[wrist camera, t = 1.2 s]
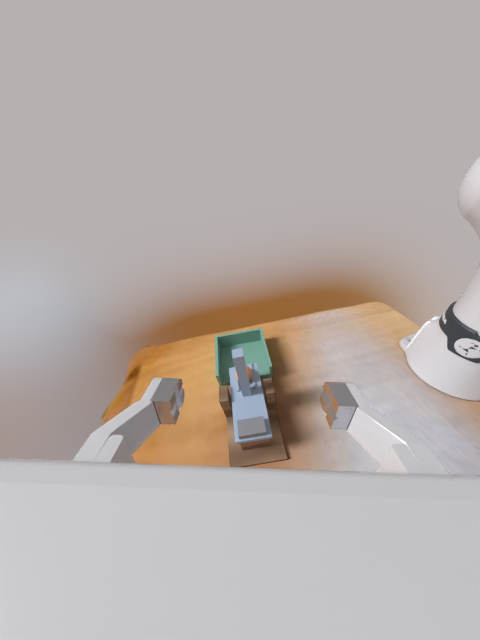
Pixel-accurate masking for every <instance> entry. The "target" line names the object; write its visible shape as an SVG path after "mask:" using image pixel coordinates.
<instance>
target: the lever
mask: <svg viewBox="0 0 480 640" xmlns="http://www.w3.org/2000/svg"><path fill="white" fill-rule="evenodd" d="M232 358H233V362H234V365H235V366H234V367H232V368H229V374H230V386H231V399H232V411H233V424H234V436H235V444H241V443H247V442H253V441H259V440H265V439H271V438H272V432H271V428H270V423H269V418H268V414H267V409H266V404H265V399H264V395H263V393H264V392H263V388H262V385H261V381H260V376H259V371H258V366H257V363H255V364H251V363H249V365H246V364H245V359H244V354H243V350H242V348H238V349H233V350H232ZM246 366H248V367H249V368H250V369H251V371H252V376H251V379H250V380H249V379H248V374H247V369H246ZM236 373H237V376H238V379H237V378H236Z"/></svg>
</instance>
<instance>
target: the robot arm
mask: <svg viewBox="0 0 480 640" xmlns="http://www.w3.org/2000/svg"><path fill="white" fill-rule="evenodd" d="M458 207H459V210H460V212H461V214H462V216H463V217H464V218H465V219H466V220H467V221H468V222H469V223H470V224H471V225H472V226H473V228H474V229H475V230H476V232H477V234H478V236H479V239H480V157H478V159H477V160H476V161H475V162H474V163H473V165H472V166H471V167H470V169H469V170H468V171H467V173H466V175H465V177H464V179H463V181H462V183H461V185H460V189H459V192H458ZM399 344H400V346H401V347H402V349H403V350H404V351H405V353H406V357H407V361H408V363H409V365H410V367H411V368H412V370H413V371H414V372H415V373H416V374H417V375H418V376H419V377H420V378H421V379H422V380H423V381H425V382H426V383H428V384H429V385H431V386H432V387H434V388H436V389H438V390H440V391H442V392H444V393H446V394H449V395H451V396H454V397H458V398H461V399H466V400H474V401H480V265H479V267H478V270H477V272H476V274H475V275H474V277H473V279H472V280H471V282H470V284H469V285H468V287H467V288H466V290H465V291H464V292H463V294H462V295H461V297H460V298H459V299H458V301H456V302H454V303H452V304H451V305H450V306H449V307H448V308H447V309H446V310H445V311H444V313H443V315H442V316H439V315H436V316H435V317H434V318H432V319H431V320H428V321H427V322H426V323H425V324H424V325H423V326H422V328H421V329H420V330H419V331H418V332H416V333H414V334H412V335H410V336H407V337H405V338H403V339H402V340H401V341H400V342H399ZM182 384H183V383H182V379H175V378H154V379H153V380H152V382H151V383H150V385H149V387H148V388H147V390H146V392H145V394H144V395H143V397H142V399H141V400H140V401H137V402H135V403H134V404H133V405H131V406H130V407H128V408H127V409H125V410H124V411H123V412H121V413H120V414H118V415H117V416H116V417H114V418H113V419H111V420H110V421H108V422H107V423H106V424H104V425H103V426H101V427H100V428H98V429H97V430H96V431H94V432H93V433H92V434H91V435H90V436H89V438H88V439H87V441H86V442H85V444H84V445H83V446H82V448H81V449H80V450H79V452H78V453H77V454H76V456H75V457H74V459H73V460H72V461H60V460H32V459H8V458H0V640H480V476H463V475H450V474H449V473H448V471H447V470H446V469H445V468H444V466H443V465H442V464H441V462H440V461H439V460H438V459H437V457H436V456H435V455H434V454H433V452H432V451H431V450H430V448H429V447H428V446H427V445H426V444H425V443H424V442H422V441H421V440H419V439H418V438H416V437H415V436H414V435H412V434H411V433H409V432H408V431H406V430H405V429H403V428H402V427H401V426H399V425H398V424H396V423H395V422H393V421H392V420H391V419H389V418H388V417H386V416H385V415H383V414H382V413H380V412H379V411H378V410H376V409H375V408H371V407H370V406H369V404H368V403H367V401H366V400H365V398H364V397H363V395H362V394H361V392H360V391H359V389H358V388H357V386H356V385H355V384H354V383H353V382H325V383H324V385H323V388H324V391H323V392H322V393H321V397H320V400H321V406H322V409H323V410H324V411H325V412H326V413H327V416H326V419H327V421H328V424H329V426H330V429H337V430H347V431H348V433H349V434H350V435H351V436H352V437H353V438H354V439H355V440H356V441H357V442H358V443H359V444H360V445H361V446H362V447H363V448H364V449H365V450H366V451H367V452H368V453H369V454H370V455H371V456H372V457H373V458H374V459H375V460H376V461H377V462H378V463H379V466H378V468H377V469H376V471H375V472H355V471H328V470H302V469H275V468H247V467H220V466H193V465H166V464H139V463H136V462H135V460H134V458H133V456H132V454H133V453H134V452H135V451H136V450H137V449H138V448H139V447H140V446H141V445H142V443H143V442H144V441H145V440H146V439H147V438H148V437H149V436H150V435H151V434H152V433H153V432H154V431H155V430H156V429H157V428H158V427H159V426H160V424H176V422H177V419H178V416H179V408H180V407H181V406H182V404H183V401H184V389H183V388H182V387H181V386H182Z"/></svg>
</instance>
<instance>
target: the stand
mask: <svg viewBox="0 0 480 640" xmlns="http://www.w3.org/2000/svg"><path fill="white" fill-rule="evenodd" d="M260 381H261V385H262V388H263V392H264V393H263V395H264V399H265V404H266V409H267V414H268V418H269V423H270V428H271V432H272V438H271V439H265V440H259V441H253V442H247V443H241V444H235V436H234V424H233V411H232V399H231V386H230V385H226V386H221V387H219V402H220V404H221V406H222V409H223V411H224V413H225V415H226V417H227V426H228V443H229V461H230V467H246V466H252V465H257V464H263V463H269V462H275V461H281V460H287V454H286V450H285V446H284V442H283V438H282V434H281V430H280V426H279V422H278V418H277V414H276V402H275V390H274V386H273V382H272V378H266V379H261V380H260Z"/></svg>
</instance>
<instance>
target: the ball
mask: <svg viewBox="0 0 480 640" xmlns="http://www.w3.org/2000/svg"><path fill="white" fill-rule="evenodd" d="M246 369H247V374H248V379H249V380H250V379H251V376H252V371H251V369H250V368H249V367H248V366H246ZM236 378H237V379H238V376H237V373H236Z"/></svg>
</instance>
